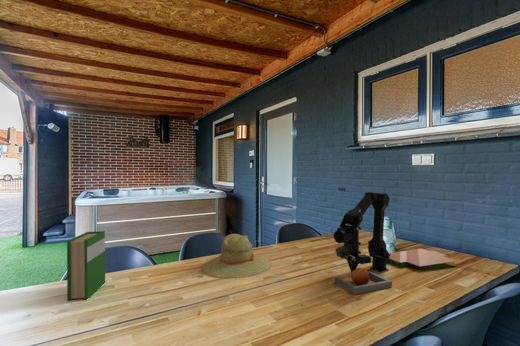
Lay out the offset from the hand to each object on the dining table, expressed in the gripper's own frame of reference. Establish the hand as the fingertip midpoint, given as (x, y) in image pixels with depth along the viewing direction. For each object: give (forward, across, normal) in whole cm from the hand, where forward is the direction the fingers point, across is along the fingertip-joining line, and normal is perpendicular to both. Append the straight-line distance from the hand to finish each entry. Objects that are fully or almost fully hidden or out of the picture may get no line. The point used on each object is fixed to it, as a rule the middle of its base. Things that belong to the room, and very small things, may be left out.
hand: (352, 272), depth 133 cm
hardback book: (+3, -32, -114) cm, 118 cm away
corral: (+3, +6, 0) cm, 7 cm away
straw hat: (+4, -40, -45) cm, 60 cm away
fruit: (+3, +5, 0) cm, 6 cm away
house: (+4, -6, +50) cm, 51 cm away
